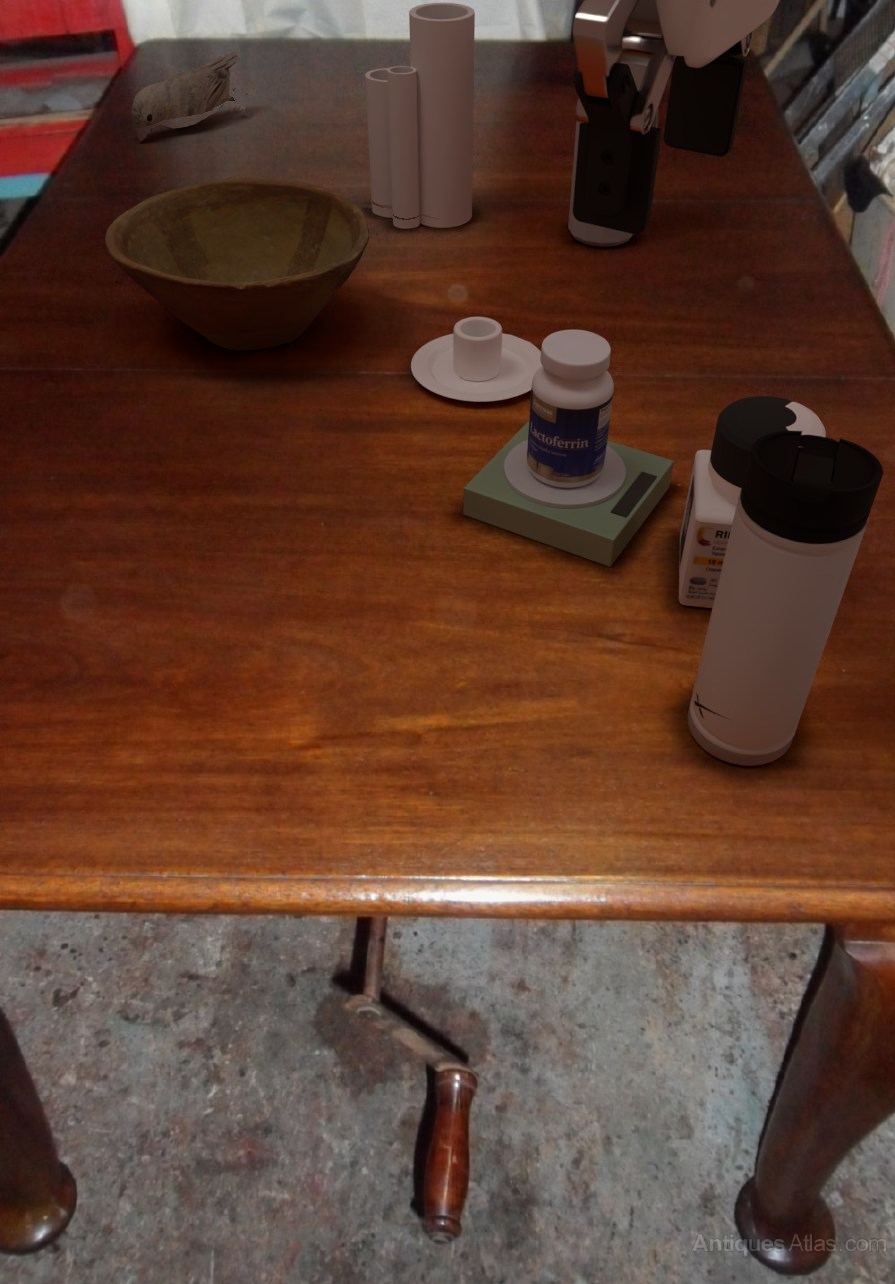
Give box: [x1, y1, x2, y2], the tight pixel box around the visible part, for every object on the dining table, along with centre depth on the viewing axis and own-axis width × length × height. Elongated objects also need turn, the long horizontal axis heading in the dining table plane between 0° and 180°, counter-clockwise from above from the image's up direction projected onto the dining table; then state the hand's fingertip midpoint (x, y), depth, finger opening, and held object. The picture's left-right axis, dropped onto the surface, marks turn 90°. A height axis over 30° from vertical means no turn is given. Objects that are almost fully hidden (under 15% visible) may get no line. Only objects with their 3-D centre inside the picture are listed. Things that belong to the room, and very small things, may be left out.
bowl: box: [104, 177, 370, 352], centre depth 96 cm, size 22×23×10 cm
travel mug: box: [687, 431, 884, 767], centre depth 57 cm, size 6×7×20 cm
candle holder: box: [410, 316, 542, 403], centre depth 92 cm, size 12×12×4 cm
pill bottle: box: [527, 329, 615, 488], centre depth 75 cm, size 6×6×10 cm
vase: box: [364, 2, 476, 230], centre depth 111 cm, size 11×7×20 cm, turn 85°
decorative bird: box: [131, 51, 248, 128], centre depth 135 cm, size 5×16×8 cm, turn 133°
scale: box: [462, 420, 675, 568], centre depth 79 cm, size 12×11×3 cm
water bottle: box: [567, 32, 662, 248], centre depth 105 cm, size 9×8×25 cm
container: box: [678, 395, 827, 609], centre depth 70 cm, size 8×8×13 cm
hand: (655, 185), depth 47 cm, fingers open, 9 cm apart
